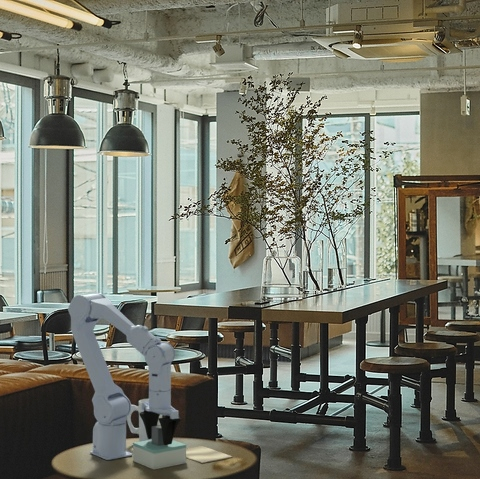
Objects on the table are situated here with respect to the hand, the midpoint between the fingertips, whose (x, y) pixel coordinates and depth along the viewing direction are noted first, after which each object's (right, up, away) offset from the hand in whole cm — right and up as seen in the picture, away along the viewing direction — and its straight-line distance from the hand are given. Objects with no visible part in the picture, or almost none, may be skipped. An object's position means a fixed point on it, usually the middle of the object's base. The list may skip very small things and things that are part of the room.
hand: (159, 441), depth 238 cm
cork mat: (+11, -5, +7) cm, 14 cm away
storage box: (0, -5, 0) cm, 5 cm away
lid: (0, -2, 0) cm, 2 cm away
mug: (-6, -5, +20) cm, 21 cm away
